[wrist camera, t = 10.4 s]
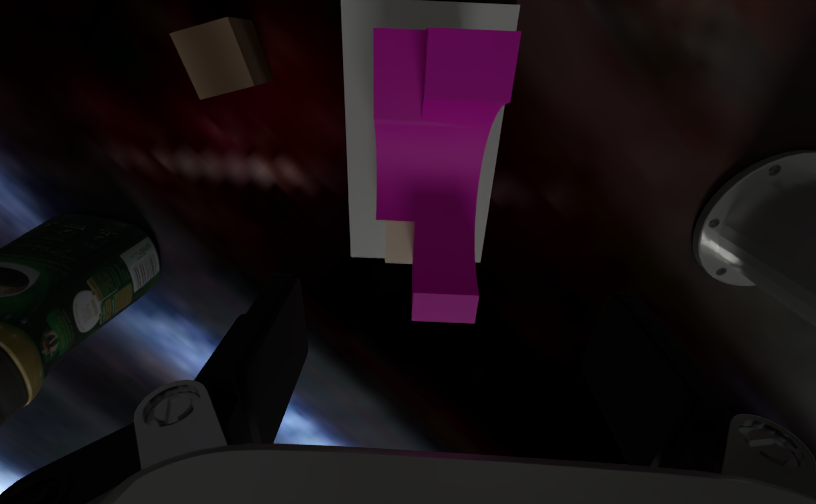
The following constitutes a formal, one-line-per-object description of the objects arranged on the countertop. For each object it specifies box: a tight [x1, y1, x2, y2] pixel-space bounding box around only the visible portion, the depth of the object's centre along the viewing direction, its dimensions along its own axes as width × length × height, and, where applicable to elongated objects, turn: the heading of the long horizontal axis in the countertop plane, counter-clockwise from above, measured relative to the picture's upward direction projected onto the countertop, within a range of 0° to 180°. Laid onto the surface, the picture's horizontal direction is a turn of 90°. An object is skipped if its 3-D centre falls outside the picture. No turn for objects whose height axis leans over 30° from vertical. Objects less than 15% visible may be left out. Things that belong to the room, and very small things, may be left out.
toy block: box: [373, 27, 521, 323], centre depth 22 cm, size 15×6×8 cm, turn 178°
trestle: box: [341, 0, 520, 264], centre depth 28 cm, size 12×20×6 cm, turn 178°
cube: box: [170, 17, 274, 100], centre depth 26 cm, size 4×4×4 cm
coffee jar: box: [0, 214, 160, 426], centre depth 28 cm, size 10×8×19 cm
